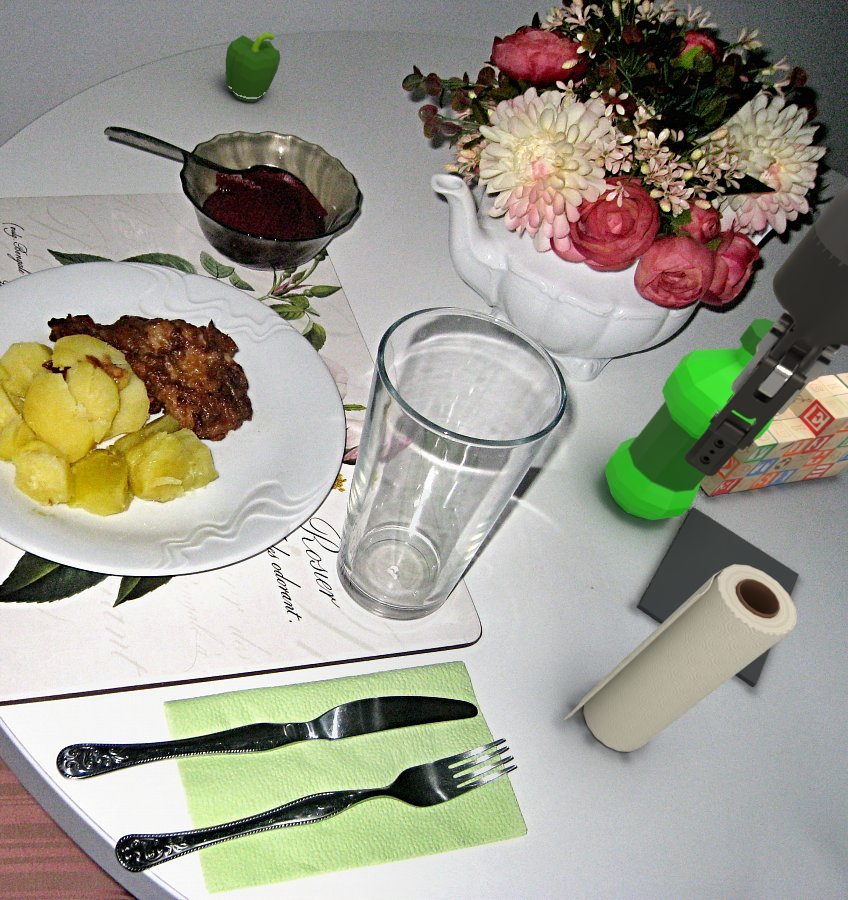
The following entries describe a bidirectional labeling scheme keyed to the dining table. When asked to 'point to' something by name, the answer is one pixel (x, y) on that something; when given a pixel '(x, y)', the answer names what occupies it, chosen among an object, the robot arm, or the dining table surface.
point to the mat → (707, 571)
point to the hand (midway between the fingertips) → (719, 437)
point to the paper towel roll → (689, 656)
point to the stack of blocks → (793, 442)
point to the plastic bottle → (679, 431)
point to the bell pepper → (251, 66)
